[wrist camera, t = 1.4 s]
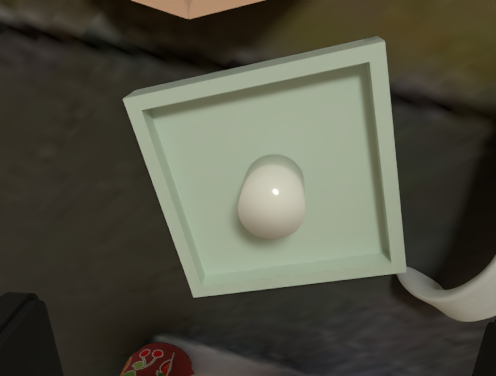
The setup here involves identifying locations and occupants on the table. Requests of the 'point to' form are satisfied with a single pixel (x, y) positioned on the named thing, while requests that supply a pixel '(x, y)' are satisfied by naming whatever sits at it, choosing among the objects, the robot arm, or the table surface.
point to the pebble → (272, 197)
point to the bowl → (195, 6)
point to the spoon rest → (456, 294)
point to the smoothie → (158, 362)
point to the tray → (281, 143)
